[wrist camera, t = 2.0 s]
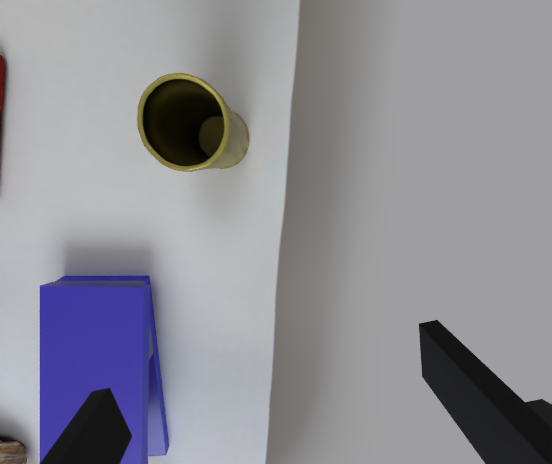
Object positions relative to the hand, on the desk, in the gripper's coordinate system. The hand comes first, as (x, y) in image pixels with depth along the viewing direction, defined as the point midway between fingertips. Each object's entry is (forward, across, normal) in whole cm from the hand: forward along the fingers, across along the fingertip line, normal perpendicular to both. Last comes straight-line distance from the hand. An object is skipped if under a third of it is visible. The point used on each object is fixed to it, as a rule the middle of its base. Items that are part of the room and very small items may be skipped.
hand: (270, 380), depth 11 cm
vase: (+22, -2, +12) cm, 25 cm away
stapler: (+22, -22, -14) cm, 34 cm away
